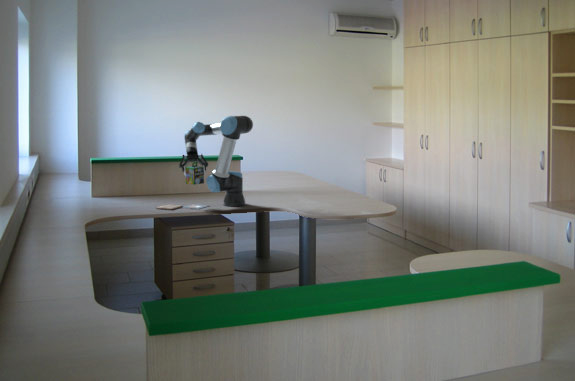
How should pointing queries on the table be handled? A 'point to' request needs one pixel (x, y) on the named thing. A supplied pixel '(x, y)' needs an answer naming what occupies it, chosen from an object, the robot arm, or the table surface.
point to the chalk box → (194, 174)
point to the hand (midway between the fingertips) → (195, 174)
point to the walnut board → (169, 207)
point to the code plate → (195, 206)
